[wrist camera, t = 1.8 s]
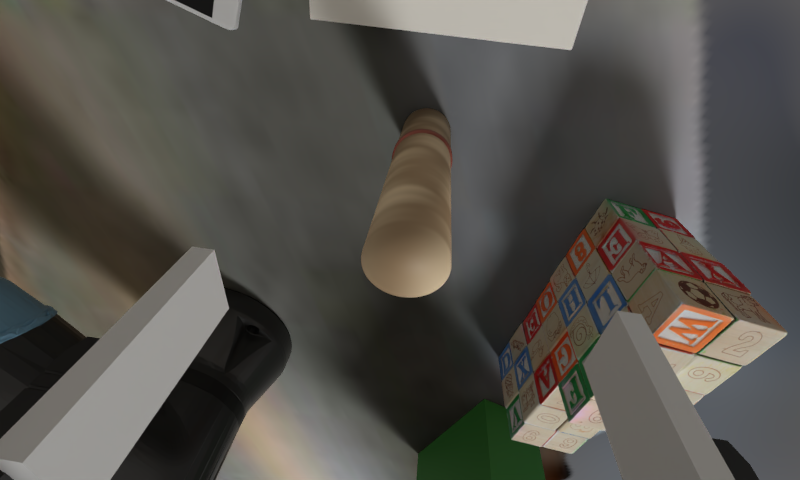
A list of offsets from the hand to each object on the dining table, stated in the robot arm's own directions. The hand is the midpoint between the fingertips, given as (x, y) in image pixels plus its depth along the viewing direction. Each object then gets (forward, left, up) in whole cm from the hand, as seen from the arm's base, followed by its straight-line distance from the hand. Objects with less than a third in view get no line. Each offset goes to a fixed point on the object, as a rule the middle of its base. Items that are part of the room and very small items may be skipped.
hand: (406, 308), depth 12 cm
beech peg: (0, 0, -19) cm, 19 cm away
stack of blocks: (+16, -14, -19) cm, 29 cm away
